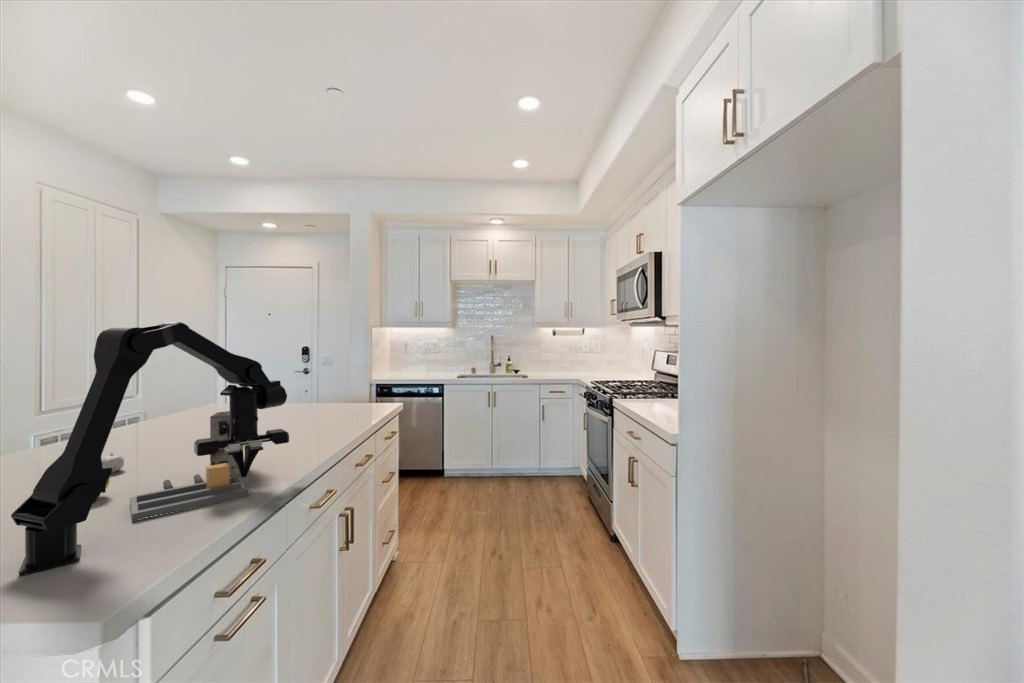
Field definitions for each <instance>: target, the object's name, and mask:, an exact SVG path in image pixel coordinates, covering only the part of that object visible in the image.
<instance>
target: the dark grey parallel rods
mask: <svg viewBox="0 0 1024 683" xmlns="http://www.w3.org/2000/svg"><path fill="white" fill-rule="evenodd" d="M201 476H202V475H200V474H199V473H196V474H194V476H193V480H194V482H195V484H197V483H203V482H205V481H204V479H203V478H202V477H201ZM162 484H163V487H164V490H166V489H171V488H174V486H173V485H172V482H171V480H170V479H165V480H163V482H162Z"/></svg>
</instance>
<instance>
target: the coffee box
mask: <svg viewBox="0 0 1024 683" xmlns="http://www.w3.org/2000/svg"><path fill="white" fill-rule="evenodd" d="M229 413H230V410H227V411H219V412H216V413H214V414H213V415H211V416H210V417H209V419H210V420H209V422H210V423H209V424H210V426H209V427H210V428H209V429H210V434H209V435H210V436H209V438H213V437H215V438H216V439H217V440H218V441H220V440H227V438H226V434H225V435H217V422H219V421H227V423H229ZM234 443H236V442H234ZM224 449H225V448H221V449H219V450H218V451H217V452H216V453H215V454H210V455H209V460H210V464H209V466H211V465H217V464H223V463H227V464H228V465H229V477H234V476H235V475H236V476H238V475H239V474H240V472H239V469H238V467H237V464H236V462H235V460H234V458H233V457H232V455H227V454H226V453H225V452H224ZM240 449H241V450H242V451H243V452H244V445H241V446H240ZM236 476H235V477H236Z"/></svg>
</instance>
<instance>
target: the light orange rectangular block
mask: <svg viewBox="0 0 1024 683" xmlns="http://www.w3.org/2000/svg"><path fill="white" fill-rule="evenodd" d="M230 477H231V476H229V465H228V464H227V463H223V464H217V465H211V466H210V465H207V466H205V482H206V488H207V489H208V488H213V487H218V486H223V485H228V484H230Z"/></svg>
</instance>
